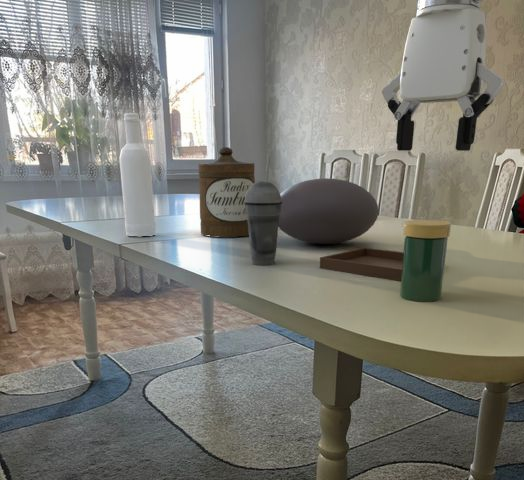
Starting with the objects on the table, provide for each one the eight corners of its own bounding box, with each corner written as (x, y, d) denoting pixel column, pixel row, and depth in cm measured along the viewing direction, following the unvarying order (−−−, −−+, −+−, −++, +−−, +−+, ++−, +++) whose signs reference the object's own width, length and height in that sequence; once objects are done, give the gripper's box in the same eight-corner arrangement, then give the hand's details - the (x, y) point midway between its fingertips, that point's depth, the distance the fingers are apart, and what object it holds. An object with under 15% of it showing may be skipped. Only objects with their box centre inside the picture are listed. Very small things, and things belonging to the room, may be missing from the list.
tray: (441, 267, 102) (442, 257, 101) (401, 281, 92) (402, 269, 91) (363, 257, 113) (364, 247, 112) (319, 267, 103) (319, 257, 102)
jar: (448, 296, 82) (456, 225, 78) (429, 304, 78) (437, 229, 74) (411, 289, 86) (418, 222, 82) (392, 297, 82) (397, 226, 78)
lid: (457, 234, 79) (459, 222, 78) (437, 239, 74) (438, 226, 74) (416, 230, 83) (417, 218, 82) (395, 235, 78) (396, 222, 78)
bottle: (122, 237, 141) (110, 112, 131) (130, 233, 149) (119, 114, 139) (152, 237, 141) (143, 112, 131) (159, 233, 149) (150, 114, 138)
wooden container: (211, 239, 137) (207, 146, 130) (194, 232, 150) (189, 147, 143) (264, 235, 143) (264, 146, 135) (243, 229, 156) (242, 147, 148)
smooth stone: (377, 253, 117) (382, 181, 112) (263, 250, 121) (263, 180, 116) (375, 236, 140) (379, 176, 135) (280, 234, 144) (280, 176, 139)
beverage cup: (252, 258, 112) (251, 156, 105) (286, 260, 110) (287, 155, 103) (239, 265, 105) (237, 156, 99) (275, 267, 103) (275, 156, 96)
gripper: (529, -3, 66) (507, 150, 72) (401, 19, 77) (390, 150, 83) (507, -17, 61) (484, 150, 67) (372, 9, 72) (363, 150, 78)
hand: (432, 149), depth 75 cm, fingers open, 8 cm apart
